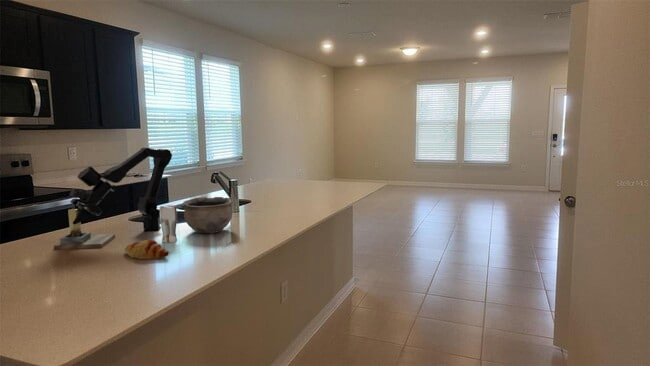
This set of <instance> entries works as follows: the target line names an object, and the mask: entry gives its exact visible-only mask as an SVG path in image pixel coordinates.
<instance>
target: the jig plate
mask: <svg viewBox="0 0 650 366" xmlns="http://www.w3.org/2000/svg"><path fill="white" fill-rule="evenodd" d="M81 233H82V236H81V237H70V232H68V233H67V234H65V235H63V236H61V237H60V238H59V241H58V242H57V243H55V244H53V250H70V249H71V250H72V249H93V248H95V249H97V248H99V249H100V248H104V247H105V246H107V244H108V243H110V242H111V241H112V240H114V239H115V238H116V234H115V233H106V234H105V233H101V234H100V233H99V234H92V233H91V231H89V232H88V231H87V232H81Z"/></svg>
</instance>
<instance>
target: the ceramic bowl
mask: <svg viewBox="0 0 650 366" xmlns="http://www.w3.org/2000/svg"><path fill="white" fill-rule="evenodd" d="M182 204H183V207H184V211H183V217H184V218H183V219H184V220H185V222H186V224H187V225H188V227H190V228H191V229H192V230H193V231H194V232H196V233H201V234H212V233H213V234H214V233H218V232H222V231H223V230H224V229H225V228H226V227H228V225H229V224H230V222H231V220H232V218H233V210H232V207H231V204H232V199H231V198H229V197H225V198H224V197H223V196H214V197H213V199H209V198H208V197H206V196H201V197H194V198H191V199H187V200H184V201H183V202H182Z"/></svg>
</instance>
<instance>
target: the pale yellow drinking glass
mask: <svg viewBox="0 0 650 366" xmlns="http://www.w3.org/2000/svg"><path fill="white" fill-rule="evenodd" d="M67 211H68V212H67V213H68V221H69V222H68V223H69V233H70V237H81V236H82V233H83V232H82V221H81V222H79V223H77V224H75V225H74V224H73V221H74V220H75V218H76V217H77V215H78V214H79V212H80V209H74V208H71V209H68V210H67Z"/></svg>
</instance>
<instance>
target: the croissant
mask: <svg viewBox="0 0 650 366" xmlns="http://www.w3.org/2000/svg"><path fill="white" fill-rule="evenodd" d="M124 252H126V254H127V256H129V257H131V258H132V259H136V258H139V259H138V260H160V259H161V258H162V259H164V258H167V257H168V256H169V254H170V251H169V250H167V249H166V248H165V247H162V245H161V244H160V243H158V242H157V241H156V240H155V239H154V240H153V239H146V240H142V241H135V242H133V243H131V244H128V245H127V246H126V247H125V248H124Z"/></svg>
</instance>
